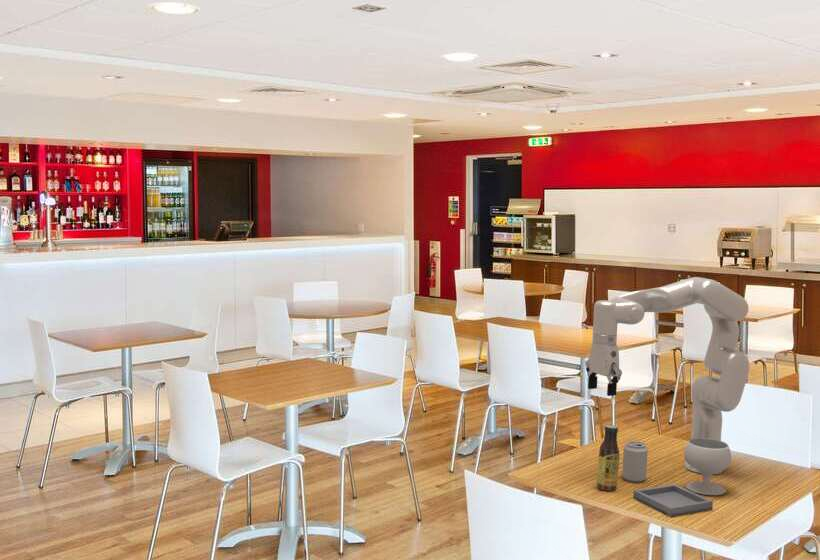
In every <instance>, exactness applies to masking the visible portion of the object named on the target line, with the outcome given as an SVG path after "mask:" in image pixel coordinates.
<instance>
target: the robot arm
mask: <svg viewBox="0 0 820 560" xmlns="http://www.w3.org/2000/svg"><path fill="white" fill-rule="evenodd" d="M696 304H700V305H703V307H704V308H703V309H704V310H705V313H707V315H708V316H709V318H710V320H711V325H712V327H711V328H712V331H711V336H710V339H709V342H708V345H707V349H706V353H705V357H704V361H703V362H704V364H703V365H704V367H705V368H706V370H707V371H708V372H710V373H713V374H716V375H718V376H720V377H719V378H717V377H714V376H710V375H702V376H699V377H696V379H695V380H694V381H693V383H692V384H691V391H690V394H691V401H692V402H691V403H692V417H691V418H692V419H691V420H692V421H691V435H690V436H691V437H690V440H691V439H694V438H709V439H715V440H719V441H722V429H723V413H722V412H725V413H726V412H732V411H734V410H735V409H736V408H737V407H738V406H739V404H740V402H741V400H742V397H743V393H744V390H745V386H746V383H747V380H748V376H749V374H750V373H749V372H750V361H749V358H748V356H747V355H746V354H745V353H744V352H742V351H740V350H737V345H738V342H739V337H740V326H739V323H738V322H740V321H742V320H744V319H745V318H746V317H747V315H748V313H749V304H748V302H747V300H746V299H745V297H743V296H742V295H740V294H738V293H737V292H735V291H733V290H732V289H730V288H728V287H727V286H725V285H723V284H722V283H720V282H718V281H716V280H714V279H710V278H705V277H700V276H698V277H697V276H693V277H688V278H685V279H682V280H680V281H676V282H673V283H669V284H666V285H663V286H660V287H653V288H647V289H641V290H636V291H632V292H628V293H627V292H626V293H624V294H622V295H618V296H616V297H613V298H612V299H610V300H605V299H603V300H602V299H601V300H597V301H596V302H595V303H594V306H593V318H592V319H593V323H592V325H593V326H592V341H591V345H590V351H589V359H588V360H586V361H584V365H585V371H586V372H587V373H586V374H587V377H588V378H587V379H588V380H587V382H588V383H587V388H588V390H594V389H597V388H598V376H597V375H600V376H603V377H606V379H607V381H608V383H607V386H606V387H607V388H606V389H607V391H606V396H608V397H610V396H611V397H613V396H617V386H618V383H619V382H620V380H621V377H622V374H623V371H622V369H621V368H620V352H619V346H618V344H617V341H618V340H617V339H618V324H624V325H637V324H639V323H640V322H642V321H643V319H644V317H645V314H646V313H657V314H659V313H670V312H673V311H676V310H679V309H680V310H681V309H683V308H685V307H688V306H692V305H696ZM684 468H685V469H686V470H688V471H691V472H693V473H698V474H701V473H700V472H699V471H698V470H697V469H695V468H694V467H692V466H691V465H689V464H688V463H687V461H686V460H685V462H684ZM724 470H725V469H724ZM724 470H721V471H718V472H716V473H714V474H713V475H718V474H719V475H720V474H722V473H724Z"/></svg>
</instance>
